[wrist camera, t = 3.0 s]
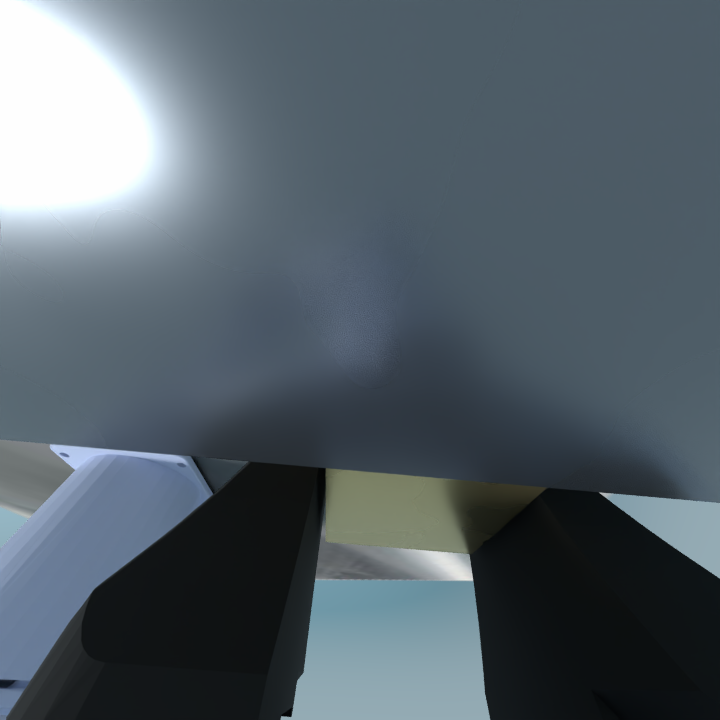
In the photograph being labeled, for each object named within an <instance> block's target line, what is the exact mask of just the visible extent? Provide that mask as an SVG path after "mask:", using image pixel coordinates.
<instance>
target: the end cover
mask: <svg viewBox="0 0 720 720" xmlns="http://www.w3.org/2000/svg"><path fill="white" fill-rule="evenodd" d="M545 489H546V487H534V486H523V485H512V484H500V483H489V482H478V481H466V480H455V479H444V478H432V477H421V476H410V475H398V474H387V473H375V472H364V471H353V470H341V469H330V468H326V542H333V543H345V544H357V545H369V546H380V547H392V548H404V549H416V550H428V551H440V552H452V553H464V554H472V553H474V552H475V551H476V550H477V549H478V548H479V547H480V546H482V545H483V544H484V543H485V542H486V541H487V540H488V539H490V538H491V537H492V536H493V535H494V534H495V533H496V532H497V531H499V530H500V529H501V528H502V527H503V526H504V525H505V524H507V523H508V522H509V521H510V520H511V519H512V518H513V517H514V516H516V515H517V514H518V513H519V512H520V511H521V510H522V509H524V508H525V507H526V506H527V505H528V504H529V503H530V502H531V501H533V500H534V499H535V498H536V497H537V496H538V495H539V494H541V493H542V492H543V491H544V490H545Z"/></svg>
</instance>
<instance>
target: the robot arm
mask: <svg viewBox="0 0 720 720" xmlns="http://www.w3.org/2000/svg"><path fill="white" fill-rule="evenodd" d="M50 448H51V450H52V451H54V452H55V453H56V454H57V455H58V456H60V457H61V458H62V459H63V460H64V461H65V462H67V463H68V464H69V465H70V466H71V467H72V468H74V469H75V471H74V472H73V473H72V474H71V475H70V477H69V478H68V479H67V480H66V481H65V482H64V483H63V484H62V485H61V486H60V487H59V488H58V489H57V490H56V491H55V492H54V493H53V494H52V495H51V496H50V497H49V498H48V499H47V500H46V501H45V503H44V504H43V505H42V506H41V507H40V508H39V509H38V510H37V511H36V512H35V513H34V514H33V515H32V516H31V517H30V518H29V519H28V520H27V522H25V523H24V524H23V526H21V528H20V529H19V530H18V531H17V532H16V533H15V534H14V535H13V536H12V537H11V538H10V539H9V540H8V541H7V542H6V543H5V544H4V545H3V546H2V547H1V548H0V720H280V718H281V716H287V717H291V716H292V711H293V704H294V697H295V691H296V684H297V680H298V679H299V677H300V676H301V675H302V674H303V671H304V664H305V654H306V647H307V639H308V631H309V623H310V615H311V607H312V598H313V591H314V582H315V575H316V567H317V560H318V552H319V544H320V537H321V529H322V522H323V514H324V507H325V501H326V468H319V467H307V466H296V465H285V464H273V463H262V462H251V461H249V462H248V463H247V464H246V465H244V466H243V467H242V468H241V469H240V470H239V471H238V472H237V473H236V474H235V475H234V476H233V477H232V478H231V479H230V480H229V481H228V482H226V483H225V484H224V485H223V486H222V487H221V488H220V489H219V490H218V491H216V492H215V493H214V494H213V493H212V491H211V490H210V488H209V486H208V485H207V483H206V481H205V480H204V478H203V476H202V475H201V473H200V471H199V470H198V468H197V466H196V465H195V463H194V461H193V460H192V458H191V456H183V455H171V454H160V453H148V452H137V451H126V450H114V449H103V448H92V447H80V446H69V445H58V444H51V445H50ZM470 560H471V567H472V574H473V581H474V588H475V596H476V605H477V613H478V621H479V629H480V640H481V650H482V661H483V672H484V685H485V695H486V700H487V704H488V710H489V715H490V720H720V579H719V578H718V577H717V576H715V575H714V574H712V573H710V572H709V571H708V570H706V569H705V568H703V567H702V566H700V565H699V564H697V563H696V562H694V561H693V560H691V559H690V558H688V557H687V556H685V555H684V554H682V553H681V552H679V551H678V550H677V549H675V548H673V547H672V546H671V545H669V544H668V543H667V542H665V541H664V540H662V539H661V538H659V537H658V536H656V535H655V534H654V533H652V532H651V531H650V530H648V529H647V528H645V527H644V526H643V525H641V524H640V523H638V522H637V521H636V520H635V519H633V518H632V517H631V516H629V515H628V514H626V513H625V512H624V511H622V510H621V509H620V508H618V507H617V506H616V505H614V504H613V503H612V502H610V501H609V500H608V499H607V498H605V497H604V496H603V495H601V494H600V493H599V492H591V491H580V490H568V489H557V488H546V489H545V490H544V491H543V492H542V493H541V494H539V495H538V496H537V497H536V498H535V499H534V500H533V501H531V502H530V503H529V504H528V505H527V506H526V507H525V508H524V509H522V510H521V511H520V512H519V513H518V514H517V515H516V516H514V517H513V518H512V519H511V520H510V521H509V522H508V523H507V524H505V525H504V526H503V527H502V528H501V529H500V530H499V531H497V532H496V533H495V534H494V535H493V536H492V537H491V538H490V539H488V540H487V541H486V542H485V543H484V544H483V545H482V546H480V547H479V548H478V549H477V550H476V551H475V552H474V553H472V554H470Z"/></svg>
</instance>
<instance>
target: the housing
mask: <svg viewBox="0 0 720 720" xmlns="http://www.w3.org/2000/svg"><path fill="white" fill-rule="evenodd" d="M0 439H1V440H12V441H24V442H35V443H46V444H58V445H69V446H80V447H92V448H103V449H114V450H126V451H137V452H148V453H160V454H171V455H183V456H194V457H205V458H217V459H228V460H239V461H251V462H262V463H273V464H285V465H296V466H307V467H319V468H330V469H341V470H353V471H364V472H375V473H387V474H398V475H410V476H421V477H432V478H444V479H455V480H466V481H478V482H489V483H500V484H512V485H523V486H534V487H546V488H557V489H568V490H580V491H591V492H602V493H614V494H626V495H637V496H648V497H659V498H671V499H683V500H693V501H705V502H716V503H720V0H0Z"/></svg>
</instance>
